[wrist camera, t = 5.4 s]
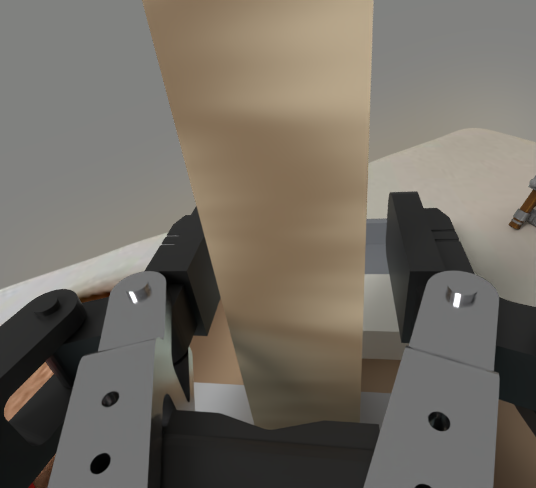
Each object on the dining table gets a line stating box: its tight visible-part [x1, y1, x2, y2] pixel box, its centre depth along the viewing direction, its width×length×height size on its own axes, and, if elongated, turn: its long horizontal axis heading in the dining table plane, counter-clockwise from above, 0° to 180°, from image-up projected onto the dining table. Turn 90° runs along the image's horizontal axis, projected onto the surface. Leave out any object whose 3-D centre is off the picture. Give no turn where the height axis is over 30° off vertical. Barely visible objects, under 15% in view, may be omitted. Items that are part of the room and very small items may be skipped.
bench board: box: [190, 298, 536, 488], centre depth 19 cm, size 17×12×3 cm
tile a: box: [362, 274, 409, 360], centre depth 20 cm, size 4×4×2 cm
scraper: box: [142, 0, 391, 430], centre depth 10 cm, size 10×3×16 cm, turn 82°
